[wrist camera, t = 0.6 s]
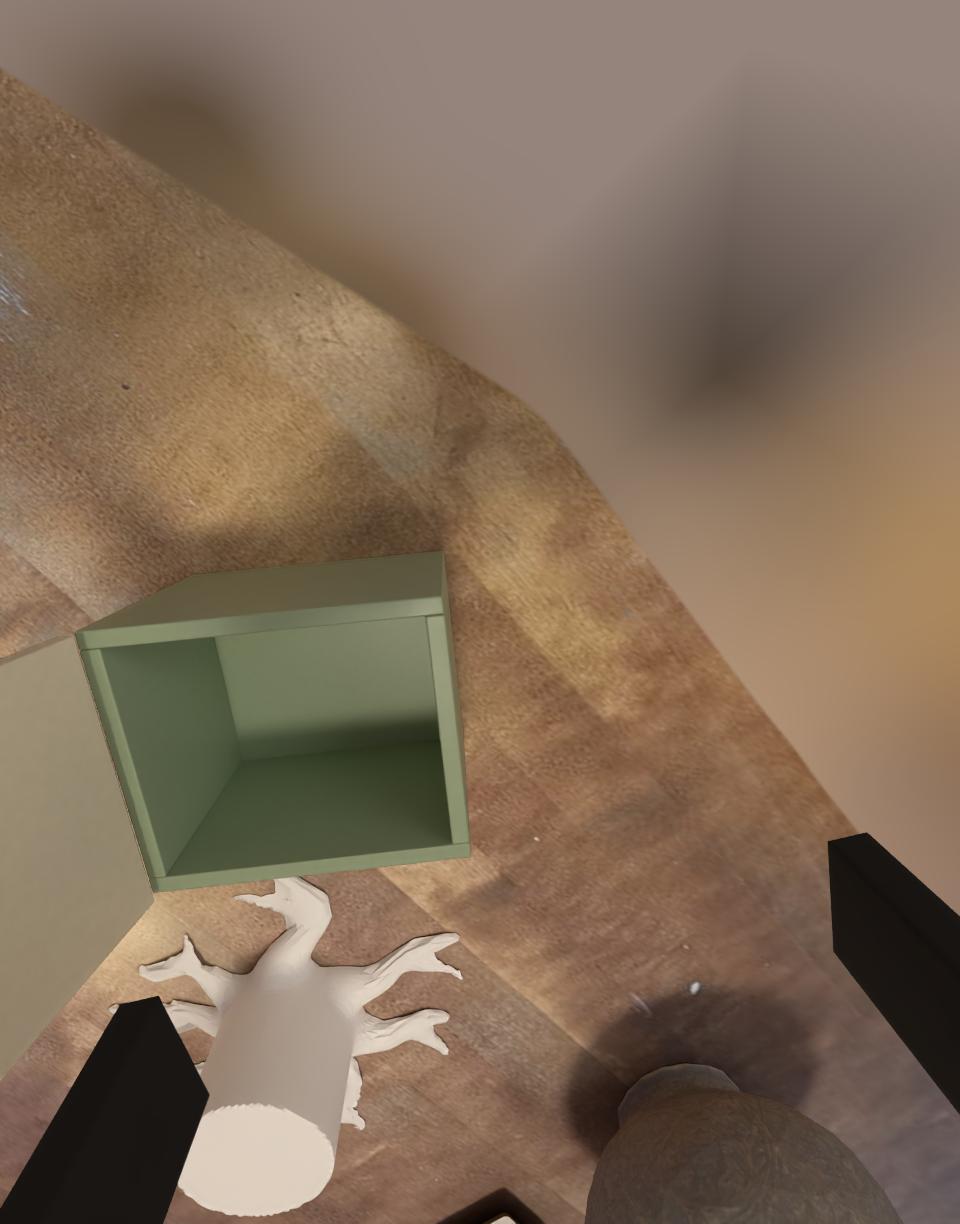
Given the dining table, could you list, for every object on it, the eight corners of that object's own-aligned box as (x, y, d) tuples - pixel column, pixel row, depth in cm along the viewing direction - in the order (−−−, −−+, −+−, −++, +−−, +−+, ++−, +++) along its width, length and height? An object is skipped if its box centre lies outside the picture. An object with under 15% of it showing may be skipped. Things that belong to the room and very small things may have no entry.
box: (443, 550, 33) (442, 595, 23) (464, 741, 36) (471, 857, 26) (192, 574, 32) (73, 632, 22) (237, 766, 36) (152, 893, 26)
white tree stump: (71, 1039, 41) (-33, 1202, 32) (282, 814, 37) (230, 929, 28) (319, 1167, 46) (288, 1339, 37) (528, 982, 42) (550, 1125, 33)
